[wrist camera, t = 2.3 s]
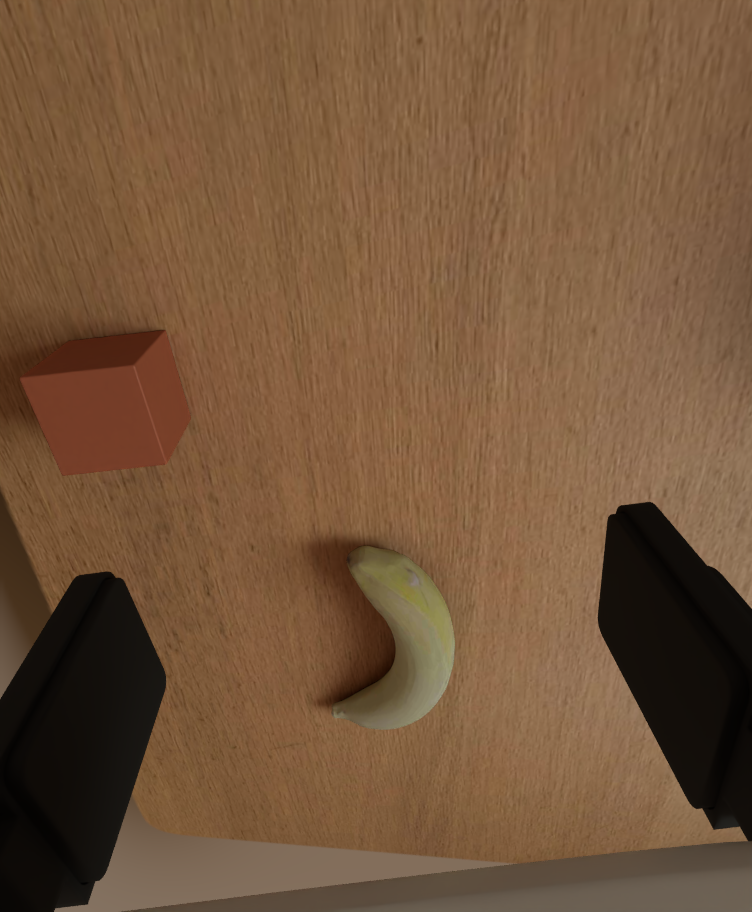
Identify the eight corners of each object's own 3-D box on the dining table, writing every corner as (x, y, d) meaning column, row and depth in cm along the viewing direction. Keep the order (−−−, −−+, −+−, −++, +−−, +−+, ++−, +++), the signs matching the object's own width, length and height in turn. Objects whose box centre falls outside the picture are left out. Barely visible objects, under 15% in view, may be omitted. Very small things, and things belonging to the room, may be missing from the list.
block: (67, 340, 26) (17, 377, 22) (166, 329, 26) (133, 364, 22) (101, 428, 28) (61, 476, 24) (191, 418, 28) (167, 464, 24)
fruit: (471, 539, 32) (483, 579, 30) (432, 710, 40) (438, 754, 37) (347, 532, 32) (347, 572, 29) (330, 707, 39) (329, 752, 36)
